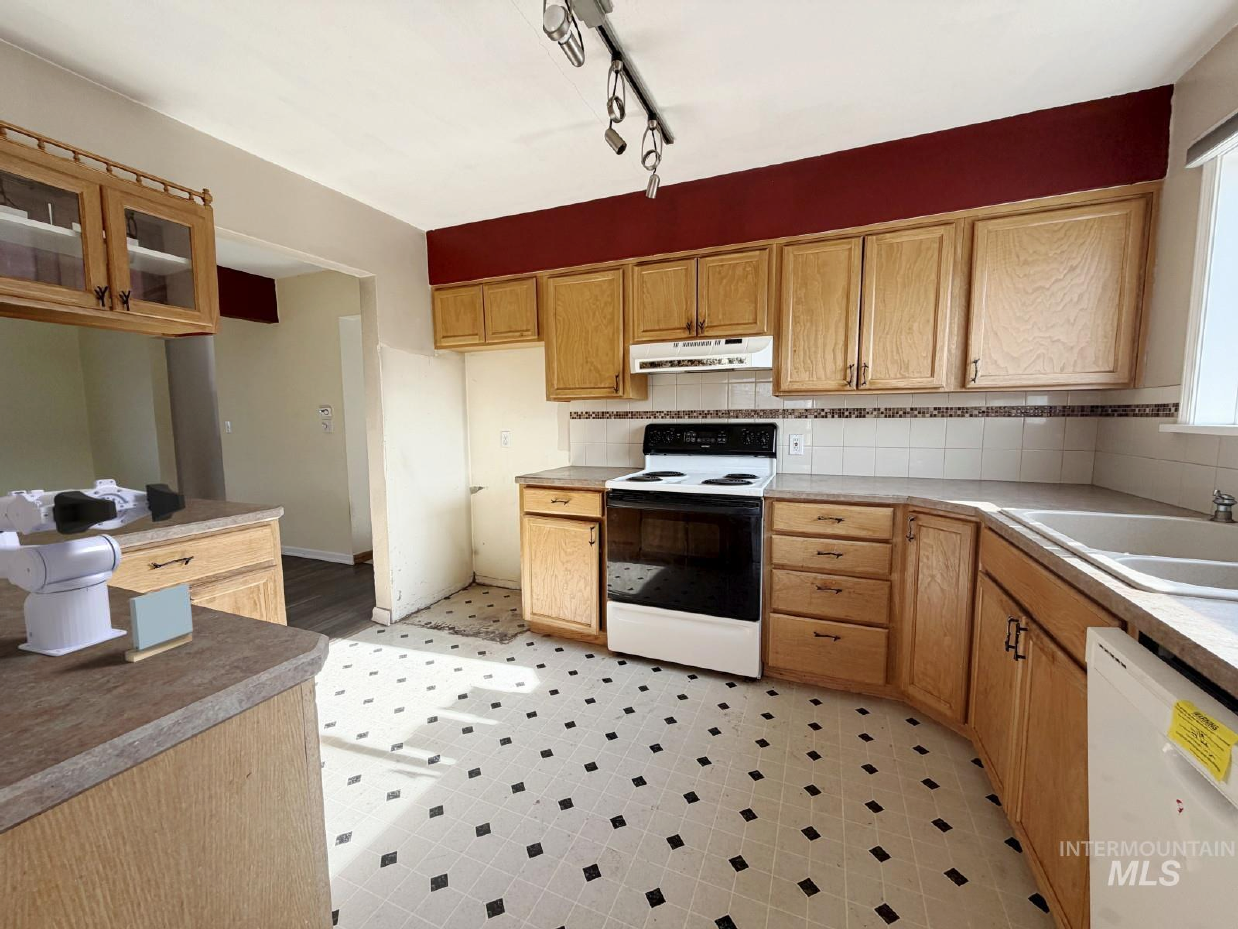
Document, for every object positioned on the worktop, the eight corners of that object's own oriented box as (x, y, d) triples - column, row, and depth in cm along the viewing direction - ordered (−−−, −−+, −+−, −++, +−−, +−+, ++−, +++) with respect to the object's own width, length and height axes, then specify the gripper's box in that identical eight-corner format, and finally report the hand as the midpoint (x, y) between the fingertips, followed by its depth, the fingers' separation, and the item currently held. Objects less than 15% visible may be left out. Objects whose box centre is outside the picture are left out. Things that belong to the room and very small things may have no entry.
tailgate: (134, 651, 67) (129, 599, 66) (187, 632, 73) (183, 584, 72) (140, 652, 66) (135, 599, 66) (193, 633, 73) (188, 584, 72)
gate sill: (125, 660, 67) (125, 652, 67) (184, 639, 74) (183, 631, 74) (134, 662, 66) (133, 653, 66) (192, 640, 73) (191, 632, 73)
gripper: (8, 486, 63) (72, 481, 59) (145, 476, 77) (205, 471, 73) (15, 540, 63) (79, 539, 59) (150, 521, 77) (210, 518, 73)
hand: (149, 505), depth 66 cm, fingers open, 7 cm apart
